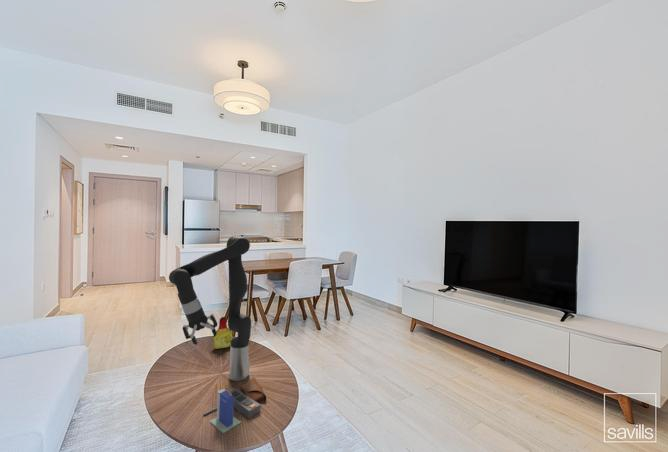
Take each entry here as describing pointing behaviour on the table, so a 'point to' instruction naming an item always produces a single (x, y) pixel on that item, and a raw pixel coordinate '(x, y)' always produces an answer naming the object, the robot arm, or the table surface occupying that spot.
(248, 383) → the sunglasses case
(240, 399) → the power strip
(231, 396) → the walkman
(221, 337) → the bottle
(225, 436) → the table surface
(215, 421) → the mat
